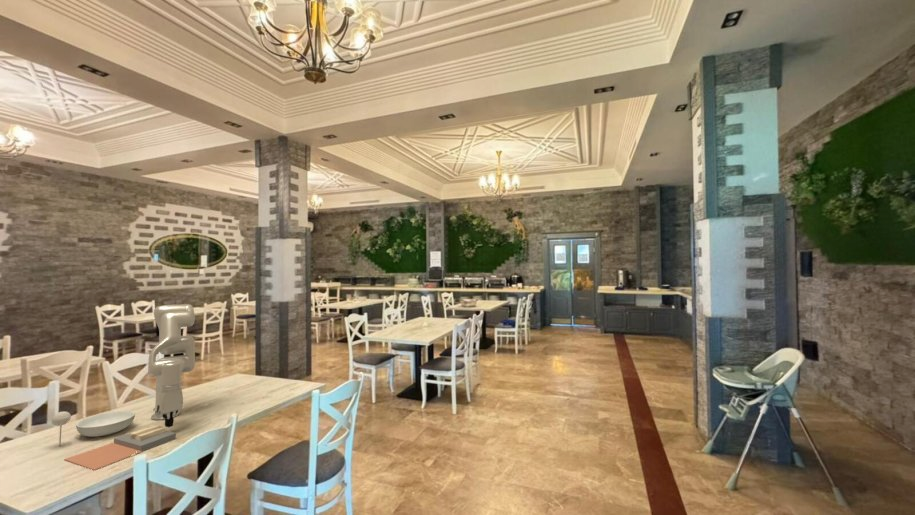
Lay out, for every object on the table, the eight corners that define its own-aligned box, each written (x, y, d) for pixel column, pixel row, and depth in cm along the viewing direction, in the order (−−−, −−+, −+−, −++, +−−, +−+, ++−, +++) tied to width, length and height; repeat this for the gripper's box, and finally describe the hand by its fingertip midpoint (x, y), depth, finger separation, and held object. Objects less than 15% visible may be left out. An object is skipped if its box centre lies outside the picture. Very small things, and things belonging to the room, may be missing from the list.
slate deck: (113, 444, 165) (114, 438, 165) (149, 431, 178) (149, 426, 178) (140, 451, 158) (141, 445, 158) (175, 438, 171) (176, 433, 171)
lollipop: (72, 444, 165) (74, 410, 166) (54, 450, 159) (56, 415, 160) (64, 442, 167) (66, 408, 168) (46, 447, 161) (48, 413, 162)
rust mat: (64, 460, 151) (64, 459, 151) (112, 443, 165) (112, 442, 165) (94, 470, 142) (94, 469, 142) (142, 452, 157) (142, 451, 157)
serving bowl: (66, 445, 163) (67, 430, 164) (86, 428, 182) (87, 414, 182) (126, 436, 173) (127, 421, 173) (140, 421, 192) (140, 407, 192)
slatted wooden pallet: (129, 437, 166) (130, 433, 166) (154, 429, 175) (155, 425, 175) (140, 440, 163) (140, 436, 163) (165, 431, 172) (165, 427, 172)
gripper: (181, 382, 186) (180, 419, 185) (148, 391, 172) (146, 431, 171) (191, 384, 184) (190, 421, 183) (158, 393, 170) (156, 433, 169)
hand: (169, 426), depth 177 cm, fingers closed
